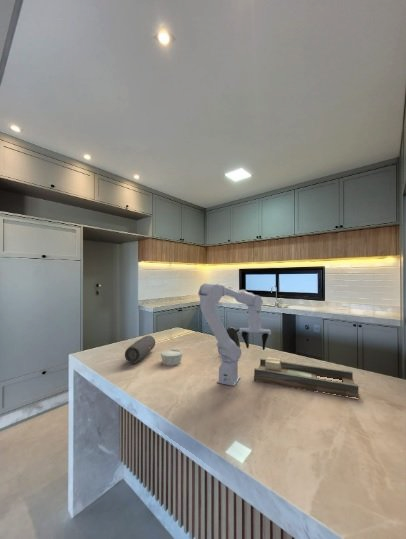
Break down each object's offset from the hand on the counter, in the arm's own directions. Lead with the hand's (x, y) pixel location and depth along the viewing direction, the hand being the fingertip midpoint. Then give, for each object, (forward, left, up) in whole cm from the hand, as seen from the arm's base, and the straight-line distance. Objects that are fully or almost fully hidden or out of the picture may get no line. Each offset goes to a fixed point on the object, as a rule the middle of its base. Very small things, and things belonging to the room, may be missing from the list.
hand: (255, 348), depth 115 cm
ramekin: (-6, +43, -11) cm, 45 cm away
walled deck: (-1, -21, -11) cm, 24 cm away
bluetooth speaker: (-7, +62, -11) cm, 63 cm away
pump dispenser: (+22, +19, -11) cm, 31 cm away
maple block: (-1, -8, -9) cm, 12 cm away
